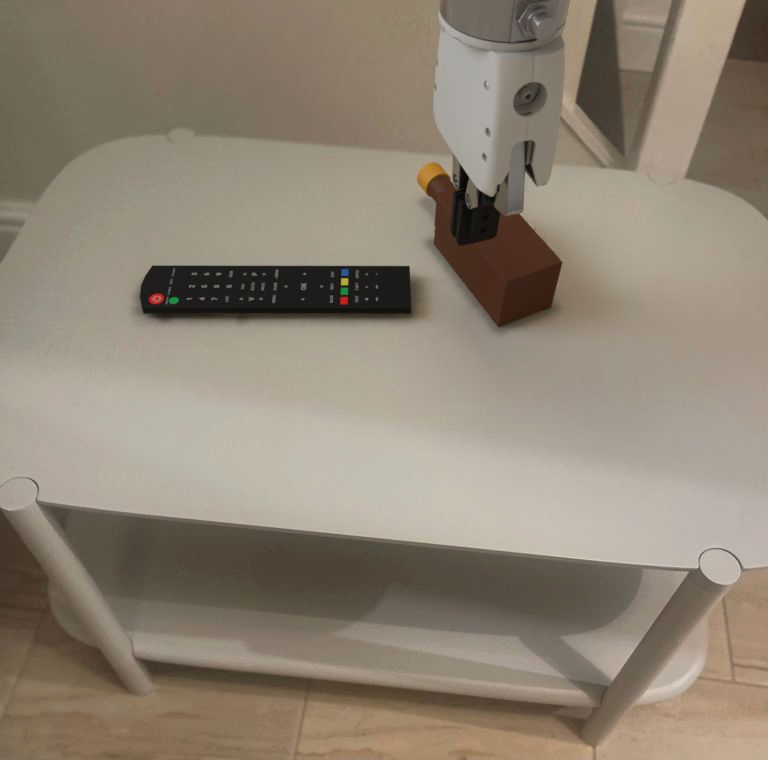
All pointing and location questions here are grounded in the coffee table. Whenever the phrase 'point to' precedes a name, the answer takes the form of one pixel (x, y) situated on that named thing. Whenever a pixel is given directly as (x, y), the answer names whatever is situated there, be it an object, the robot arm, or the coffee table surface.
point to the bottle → (495, 257)
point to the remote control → (277, 289)
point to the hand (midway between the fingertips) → (472, 235)
